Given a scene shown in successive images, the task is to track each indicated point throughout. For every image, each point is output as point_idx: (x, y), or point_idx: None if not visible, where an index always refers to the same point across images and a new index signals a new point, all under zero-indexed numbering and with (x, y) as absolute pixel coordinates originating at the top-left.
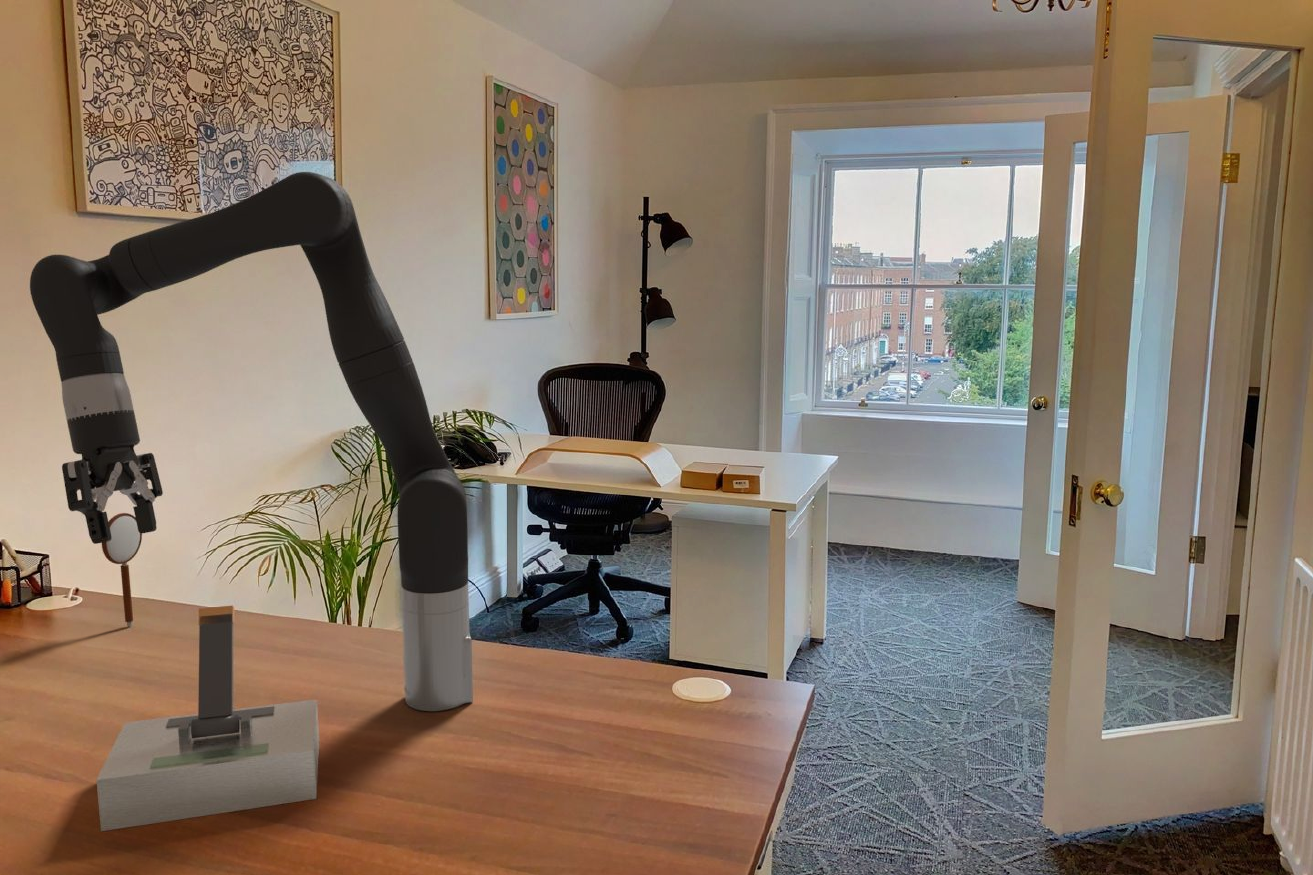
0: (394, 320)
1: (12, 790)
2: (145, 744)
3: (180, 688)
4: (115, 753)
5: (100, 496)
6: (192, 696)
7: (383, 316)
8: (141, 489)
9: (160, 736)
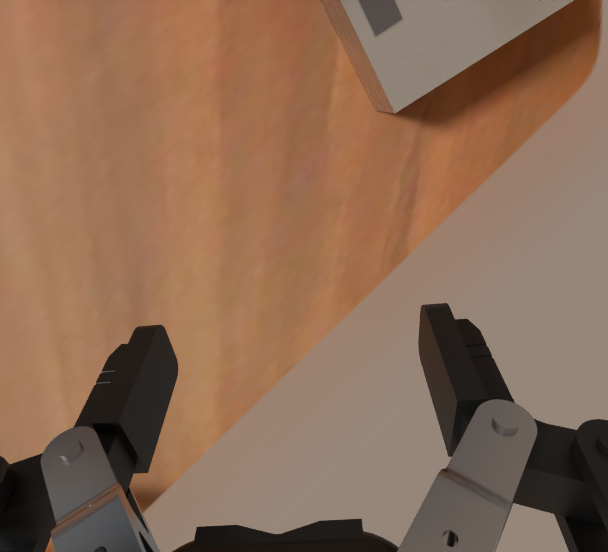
0: None
1: (447, 215)
2: (462, 9)
3: (134, 232)
4: (496, 37)
5: (519, 479)
6: (151, 192)
7: None
8: (124, 503)
9: (432, 3)
